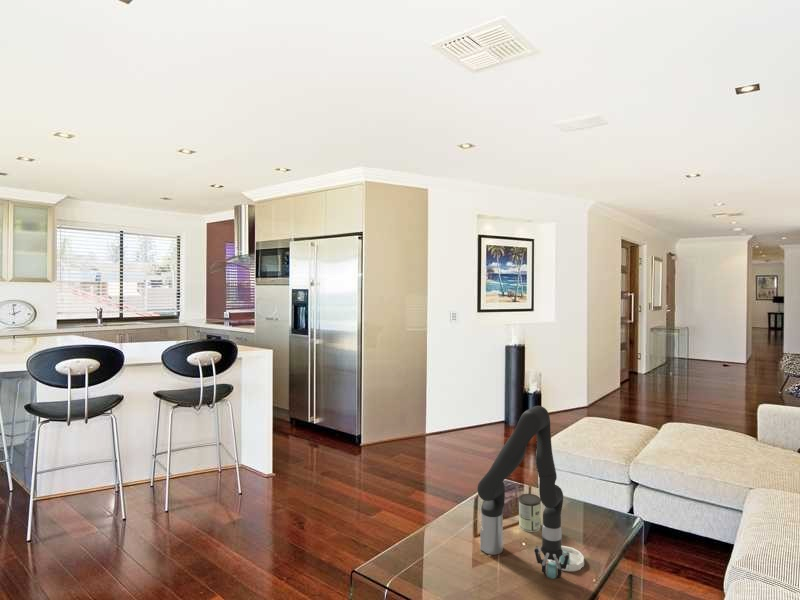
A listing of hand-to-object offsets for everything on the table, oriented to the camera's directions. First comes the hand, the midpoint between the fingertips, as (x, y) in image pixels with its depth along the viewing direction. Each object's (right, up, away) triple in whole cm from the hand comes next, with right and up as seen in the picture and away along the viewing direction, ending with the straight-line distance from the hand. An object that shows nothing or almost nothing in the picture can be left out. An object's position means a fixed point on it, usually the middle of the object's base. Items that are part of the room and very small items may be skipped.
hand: (551, 574), depth 212 cm
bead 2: (+7, +1, +6) cm, 10 cm away
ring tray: (+9, +1, +10) cm, 13 cm away
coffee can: (0, +3, +38) cm, 38 cm away
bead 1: (0, 0, 0) cm, 0 cm away
